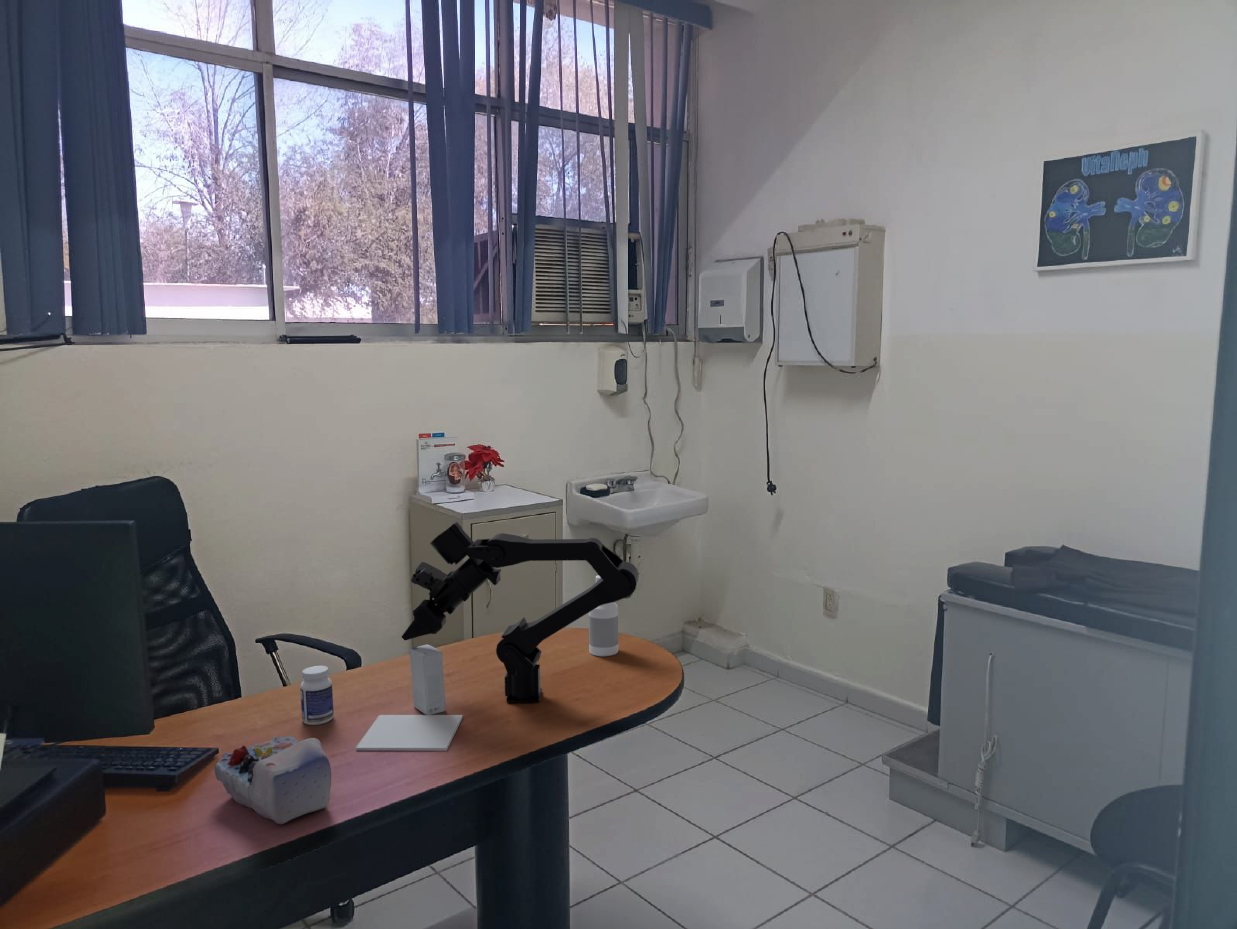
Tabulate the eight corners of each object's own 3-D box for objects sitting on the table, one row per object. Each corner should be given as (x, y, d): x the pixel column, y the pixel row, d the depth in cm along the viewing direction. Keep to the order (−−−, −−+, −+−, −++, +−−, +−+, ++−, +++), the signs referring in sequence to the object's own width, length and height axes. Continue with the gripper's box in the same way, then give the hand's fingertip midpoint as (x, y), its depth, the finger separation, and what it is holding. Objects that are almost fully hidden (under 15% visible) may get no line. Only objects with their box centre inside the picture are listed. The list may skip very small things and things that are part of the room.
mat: (462, 717, 166) (462, 715, 166) (446, 750, 152) (446, 747, 152) (379, 717, 166) (379, 715, 166) (355, 750, 152) (355, 747, 152)
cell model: (268, 768, 123) (203, 733, 136) (274, 840, 124) (209, 799, 137) (349, 736, 133) (281, 706, 146) (353, 803, 134) (286, 768, 147)
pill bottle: (340, 716, 167) (337, 666, 166) (318, 728, 162) (315, 676, 160) (317, 711, 169) (314, 662, 168) (295, 723, 164) (292, 672, 163)
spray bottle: (586, 656, 199) (585, 579, 197) (592, 646, 206) (591, 572, 204) (615, 657, 198) (615, 580, 196) (620, 647, 205) (620, 573, 202)
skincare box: (446, 711, 169) (444, 650, 167) (425, 717, 166) (423, 656, 165) (431, 701, 174) (429, 643, 172) (411, 707, 171) (408, 647, 169)
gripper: (447, 539, 182) (395, 586, 184) (424, 566, 164) (366, 618, 166) (484, 577, 183) (432, 624, 186) (464, 608, 165) (407, 659, 167)
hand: (409, 629), depth 176 cm, fingers open, 9 cm apart
